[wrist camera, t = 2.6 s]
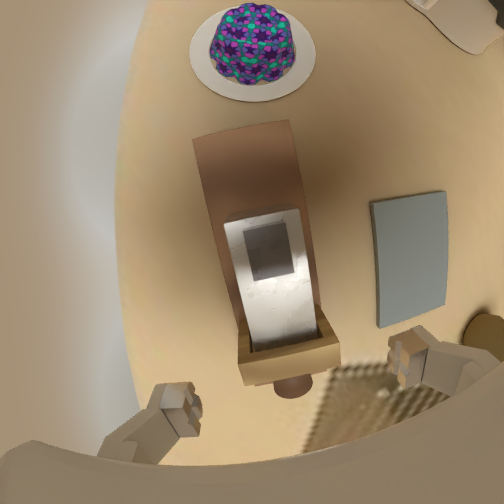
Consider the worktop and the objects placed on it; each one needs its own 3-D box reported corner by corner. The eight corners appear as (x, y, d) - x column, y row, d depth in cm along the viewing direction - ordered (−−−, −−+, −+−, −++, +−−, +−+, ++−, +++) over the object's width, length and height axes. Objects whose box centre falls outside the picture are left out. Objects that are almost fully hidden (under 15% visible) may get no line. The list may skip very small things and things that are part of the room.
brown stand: (202, 147, 23) (172, 123, 12) (279, 131, 23) (305, 97, 12) (253, 356, 28) (257, 431, 18) (315, 342, 28) (343, 412, 18)
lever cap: (227, 215, 19) (222, 226, 15) (287, 202, 19) (301, 209, 15) (255, 333, 22) (258, 369, 17) (307, 322, 22) (321, 356, 17)
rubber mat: (369, 202, 24) (373, 203, 24) (441, 190, 24) (446, 191, 23) (376, 325, 28) (379, 328, 27) (441, 302, 28) (444, 304, 27)
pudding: (180, 99, 22) (165, 81, 17) (202, 5, 19) (196, -22, 14) (308, 113, 22) (324, 98, 17) (317, 18, 19) (330, -7, 14)
